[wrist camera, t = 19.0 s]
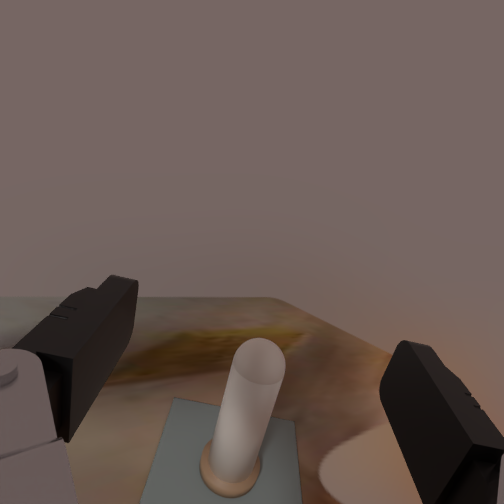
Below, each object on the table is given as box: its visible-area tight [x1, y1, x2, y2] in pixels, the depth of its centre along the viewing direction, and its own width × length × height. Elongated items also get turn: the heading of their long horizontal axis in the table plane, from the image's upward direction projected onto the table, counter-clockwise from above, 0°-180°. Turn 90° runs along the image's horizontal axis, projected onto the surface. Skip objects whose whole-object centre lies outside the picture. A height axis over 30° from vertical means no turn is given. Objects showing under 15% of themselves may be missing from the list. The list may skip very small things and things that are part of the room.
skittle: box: [199, 338, 286, 498], centre depth 35 cm, size 6×6×16 cm
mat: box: [140, 397, 302, 504], centre depth 39 cm, size 16×14×1 cm
